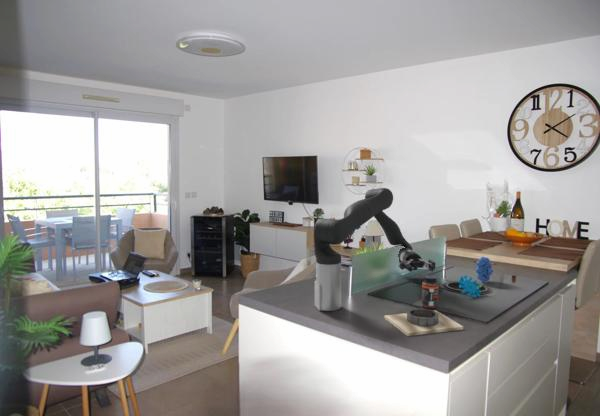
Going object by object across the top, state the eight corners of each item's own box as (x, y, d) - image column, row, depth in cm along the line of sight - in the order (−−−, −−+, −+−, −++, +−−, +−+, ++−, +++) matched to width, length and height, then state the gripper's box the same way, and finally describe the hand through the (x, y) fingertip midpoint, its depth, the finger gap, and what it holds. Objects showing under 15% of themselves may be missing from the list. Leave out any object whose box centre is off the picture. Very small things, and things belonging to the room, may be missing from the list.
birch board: (407, 336, 133) (407, 333, 133) (384, 318, 148) (384, 315, 148) (463, 329, 138) (463, 326, 138) (435, 312, 153) (435, 310, 153)
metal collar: (416, 327, 137) (417, 320, 136) (401, 317, 146) (401, 310, 146) (444, 324, 139) (444, 317, 139) (427, 314, 149) (427, 307, 149)
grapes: (486, 287, 185) (487, 259, 184) (471, 283, 190) (472, 257, 189) (499, 282, 192) (500, 256, 191) (484, 279, 197) (485, 253, 196)
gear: (465, 296, 167) (456, 274, 173) (457, 303, 171) (448, 281, 177) (488, 296, 171) (478, 275, 177) (479, 304, 175) (469, 282, 181)
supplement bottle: (435, 309, 156) (436, 279, 155) (419, 307, 159) (420, 277, 158) (439, 305, 161) (440, 276, 160) (424, 302, 164) (424, 273, 163)
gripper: (394, 251, 186) (404, 260, 170) (427, 250, 186) (439, 259, 170) (394, 268, 187) (403, 278, 171) (426, 267, 187) (439, 277, 171)
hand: (421, 269), depth 170 cm, fingers open, 8 cm apart
